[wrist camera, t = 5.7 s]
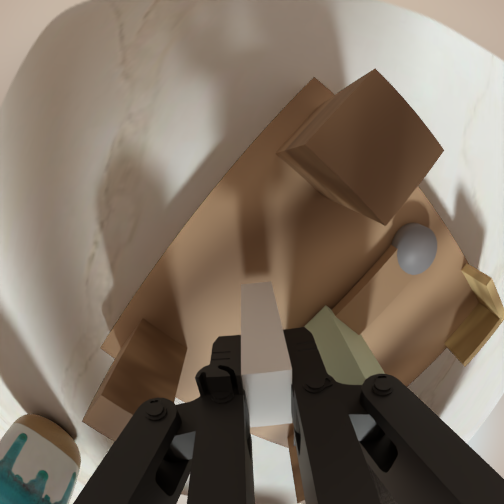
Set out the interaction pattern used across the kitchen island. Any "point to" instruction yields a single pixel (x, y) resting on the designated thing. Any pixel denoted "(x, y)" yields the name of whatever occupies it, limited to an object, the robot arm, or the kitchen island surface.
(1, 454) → the vase
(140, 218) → the kitchen island surface
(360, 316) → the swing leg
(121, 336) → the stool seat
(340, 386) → the robot arm
